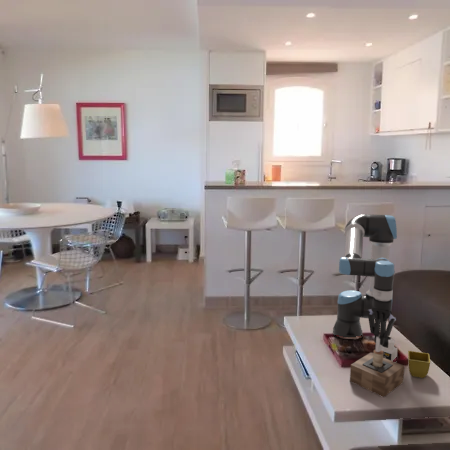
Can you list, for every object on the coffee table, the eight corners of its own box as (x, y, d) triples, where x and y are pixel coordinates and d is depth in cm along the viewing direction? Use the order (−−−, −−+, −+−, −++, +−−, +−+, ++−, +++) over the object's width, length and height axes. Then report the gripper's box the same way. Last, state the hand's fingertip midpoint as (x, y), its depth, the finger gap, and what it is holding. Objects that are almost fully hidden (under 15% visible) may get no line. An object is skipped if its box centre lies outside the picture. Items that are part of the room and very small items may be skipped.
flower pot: (406, 378, 200) (408, 359, 198) (406, 368, 208) (408, 350, 206) (428, 381, 197) (430, 362, 195) (427, 371, 205) (429, 353, 203)
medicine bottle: (375, 362, 213) (377, 338, 211) (382, 356, 219) (383, 333, 216) (390, 367, 209) (392, 343, 206) (396, 361, 214) (398, 338, 211)
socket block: (369, 368, 208) (370, 351, 206) (402, 382, 196) (404, 365, 195) (349, 381, 198) (350, 363, 196) (383, 397, 186) (385, 378, 184)
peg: (375, 365, 198) (376, 348, 197) (384, 368, 195) (385, 351, 194) (370, 368, 196) (371, 351, 194) (379, 372, 193) (380, 354, 191)
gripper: (363, 296, 191) (360, 348, 196) (392, 304, 182) (388, 359, 186) (373, 292, 196) (369, 342, 201) (401, 300, 186) (397, 353, 191)
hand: (378, 350), depth 194 cm, fingers closed
